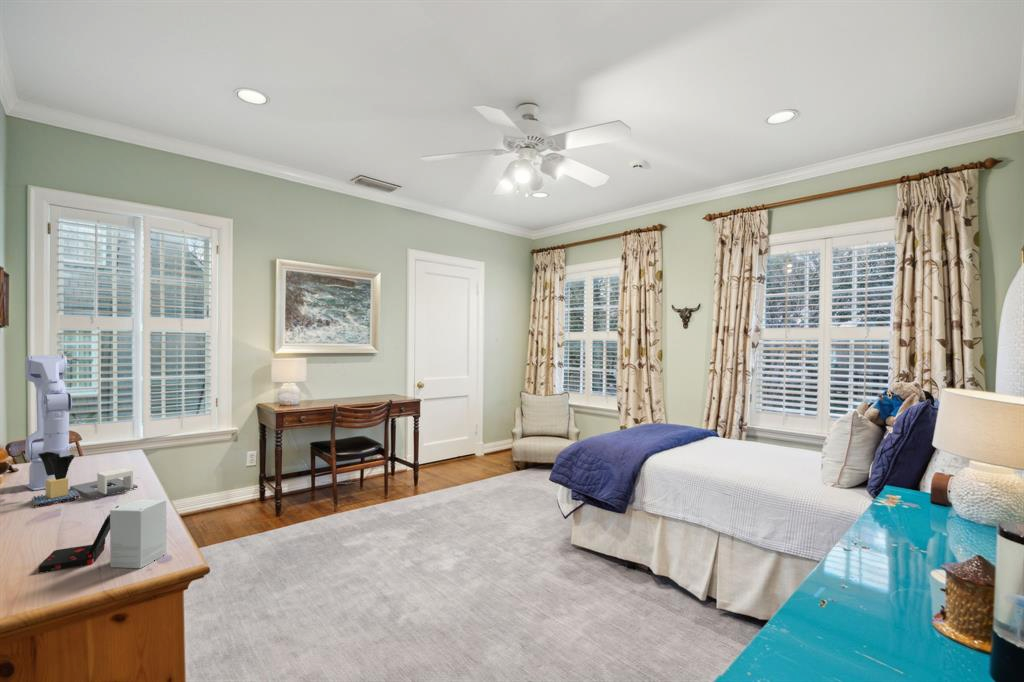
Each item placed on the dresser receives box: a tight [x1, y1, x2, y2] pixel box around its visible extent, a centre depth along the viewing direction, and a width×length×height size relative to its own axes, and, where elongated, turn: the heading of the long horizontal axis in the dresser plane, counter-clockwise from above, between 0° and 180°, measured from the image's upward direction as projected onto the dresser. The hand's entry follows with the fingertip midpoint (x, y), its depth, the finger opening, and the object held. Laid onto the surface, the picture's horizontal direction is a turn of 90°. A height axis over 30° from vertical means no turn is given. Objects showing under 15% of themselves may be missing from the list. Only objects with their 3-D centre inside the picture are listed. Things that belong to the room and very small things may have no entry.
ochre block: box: [45, 477, 69, 498], centre depth 146 cm, size 4×4×5 cm
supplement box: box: [109, 499, 168, 569], centre depth 106 cm, size 7×7×13 cm
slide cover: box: [96, 467, 134, 494], centre depth 152 cm, size 6×7×6 cm
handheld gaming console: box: [38, 505, 120, 573], centre depth 107 cm, size 9×12×10 cm
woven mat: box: [31, 489, 82, 508], centre depth 146 cm, size 10×11×2 cm
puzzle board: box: [69, 478, 138, 500], centre depth 156 cm, size 18×12×1 cm, turn 58°
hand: (56, 476), depth 146 cm, fingers open, 7 cm apart
